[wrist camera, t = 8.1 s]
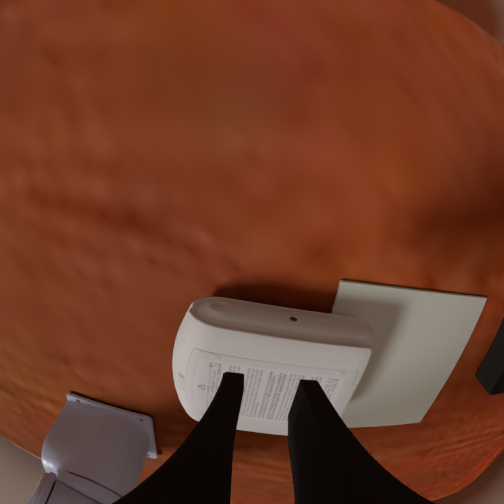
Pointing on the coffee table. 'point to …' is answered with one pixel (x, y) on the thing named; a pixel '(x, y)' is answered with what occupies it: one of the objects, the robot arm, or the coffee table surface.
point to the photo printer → (266, 357)
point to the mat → (405, 348)
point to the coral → (493, 365)
